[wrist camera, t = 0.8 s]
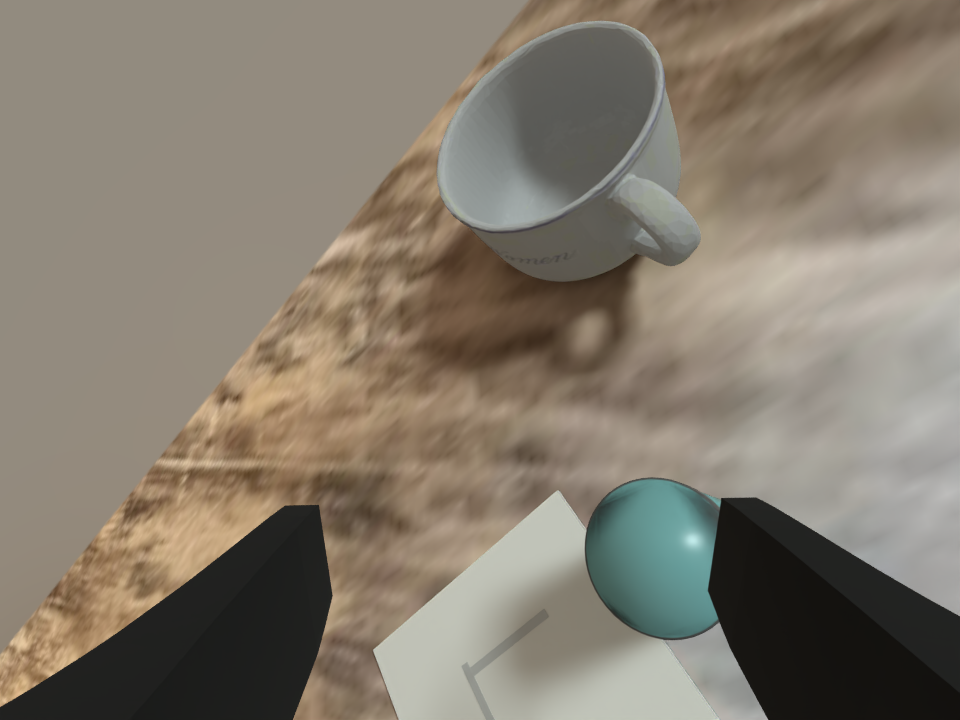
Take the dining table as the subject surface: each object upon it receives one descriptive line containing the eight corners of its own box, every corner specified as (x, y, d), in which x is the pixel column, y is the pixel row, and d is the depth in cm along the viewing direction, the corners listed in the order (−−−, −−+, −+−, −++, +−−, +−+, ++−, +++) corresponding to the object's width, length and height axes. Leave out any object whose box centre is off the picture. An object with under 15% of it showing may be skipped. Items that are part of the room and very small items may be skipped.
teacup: (488, 215, 33) (407, 139, 27) (629, 93, 30) (576, -29, 23) (591, 387, 26) (516, 337, 20) (794, 250, 23) (782, 137, 16)
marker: (796, 564, 19) (780, 579, 12) (710, 625, 20) (649, 673, 13) (716, 477, 22) (663, 447, 15) (642, 536, 23) (558, 535, 15)
